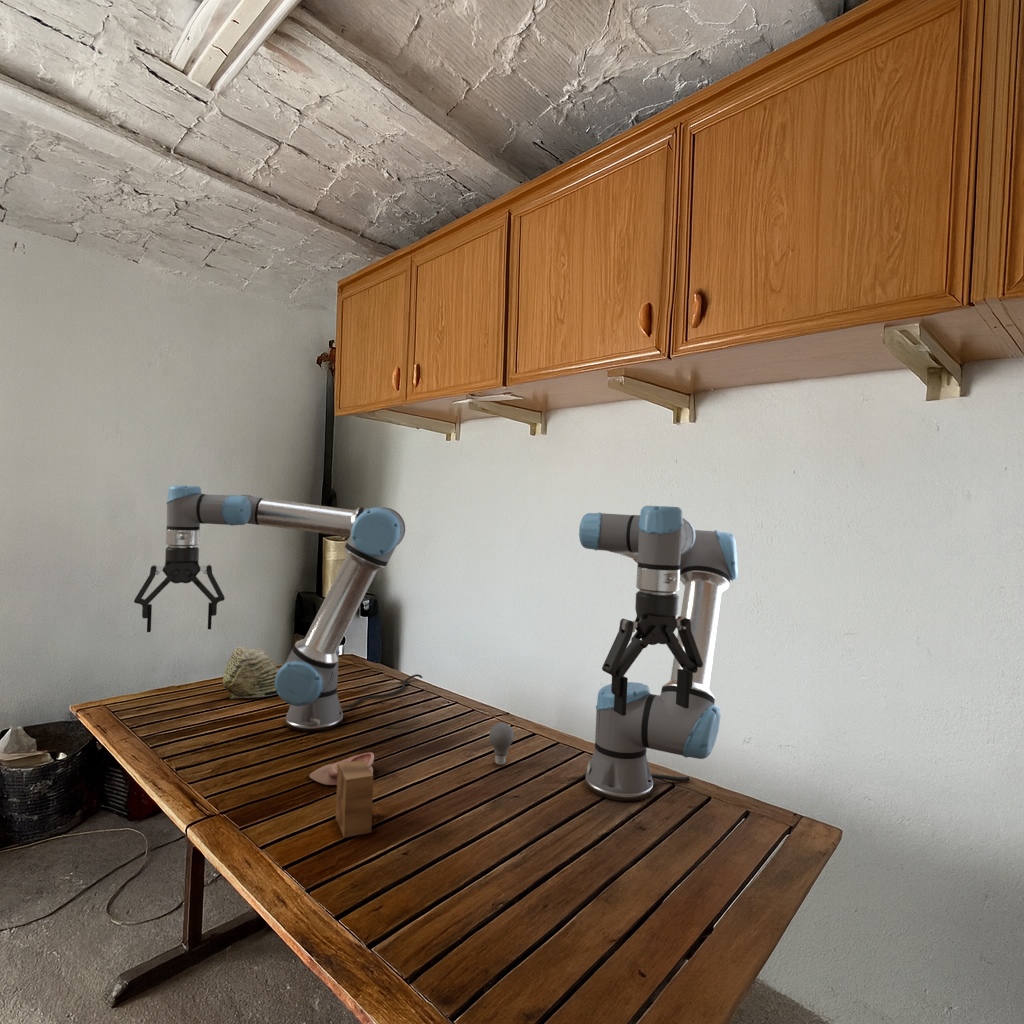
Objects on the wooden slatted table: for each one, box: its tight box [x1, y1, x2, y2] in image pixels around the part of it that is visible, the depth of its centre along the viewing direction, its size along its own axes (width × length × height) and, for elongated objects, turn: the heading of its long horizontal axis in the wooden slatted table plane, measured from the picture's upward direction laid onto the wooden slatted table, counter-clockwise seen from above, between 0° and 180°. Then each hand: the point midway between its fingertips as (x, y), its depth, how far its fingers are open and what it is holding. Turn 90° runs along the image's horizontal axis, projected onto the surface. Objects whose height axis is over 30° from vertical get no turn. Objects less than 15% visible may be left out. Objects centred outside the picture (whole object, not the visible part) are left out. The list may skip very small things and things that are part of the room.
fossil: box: [222, 646, 280, 699], centre depth 198 cm, size 9×18×15 cm, turn 132°
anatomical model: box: [308, 751, 375, 786], centre depth 144 cm, size 13×4×12 cm
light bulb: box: [488, 722, 515, 766], centre depth 154 cm, size 6×6×10 cm
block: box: [335, 760, 374, 839], centre depth 123 cm, size 8×5×11 cm
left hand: (179, 629), depth 161 cm, fingers open, 13 cm apart
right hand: (651, 709), depth 114 cm, fingers open, 13 cm apart
